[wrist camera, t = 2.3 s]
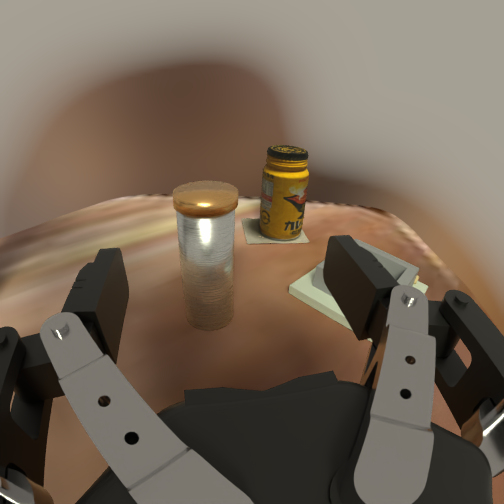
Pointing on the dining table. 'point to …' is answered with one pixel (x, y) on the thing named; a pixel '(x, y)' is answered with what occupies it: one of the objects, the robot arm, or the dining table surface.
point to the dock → (321, 299)
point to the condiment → (281, 198)
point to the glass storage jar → (207, 250)
